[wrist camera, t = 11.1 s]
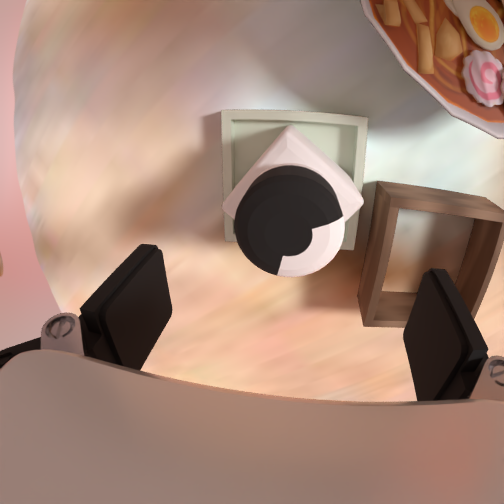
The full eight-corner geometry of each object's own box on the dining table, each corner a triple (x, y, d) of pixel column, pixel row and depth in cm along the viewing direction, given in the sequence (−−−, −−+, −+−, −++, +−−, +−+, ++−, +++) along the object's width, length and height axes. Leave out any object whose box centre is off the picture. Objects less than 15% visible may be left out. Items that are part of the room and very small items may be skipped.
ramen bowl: (385, 158, 25) (415, 181, 18) (280, -55, 16) (271, -99, 9) (559, 111, 17) (605, 123, 10) (482, -69, 8) (514, -91, 1)
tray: (364, 116, 23) (368, 117, 22) (351, 241, 29) (353, 250, 27) (226, 109, 25) (221, 110, 23) (229, 233, 31) (224, 241, 29)
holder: (485, 197, 24) (510, 215, 20) (454, 300, 30) (470, 327, 25) (377, 180, 26) (391, 197, 21) (357, 296, 32) (363, 326, 27)
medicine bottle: (238, 182, 27) (196, 238, 17) (289, 122, 24) (280, 136, 14) (298, 231, 29) (292, 312, 18) (351, 177, 25) (384, 232, 15)
